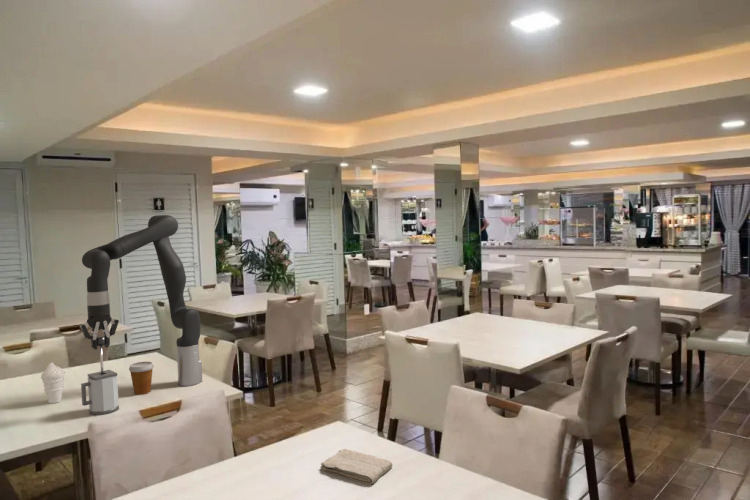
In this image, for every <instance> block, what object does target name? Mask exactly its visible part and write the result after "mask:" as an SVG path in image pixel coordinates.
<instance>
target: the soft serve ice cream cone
mask: <svg viewBox="0 0 750 500" xmlns="http://www.w3.org/2000/svg"><path fill="white" fill-rule="evenodd" d="M65 375H66V372H65V370H64V369H63V368H62V367H60V366H58V365H55V364H54V362H50V363H48V364H47V366H46V369H45V370H44V371H43V372H42V373H41V376H40V379H41V381H42V383H43V388H44V390H43V391H44V393H45V395H46V398H47V402H48V404H51V403H52V404H58V403H60V402H61V401H62V395H63V391H64V380H65ZM57 402H58V403H57Z"/></svg>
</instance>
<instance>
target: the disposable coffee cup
mask: <svg viewBox="0 0 750 500" xmlns="http://www.w3.org/2000/svg"><path fill="white" fill-rule="evenodd" d="M153 368H154V364H153V362H151V361H138V362H134V363H131V364H130V365H129V368H128V370H129V372H130V376H131V377H130V378H131V381H132V386H133V388H132V389H133V393H134V395H137V396H140V395H142V396H143V395H146V394H149V393H151V391H152V378H153Z"/></svg>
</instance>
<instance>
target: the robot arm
mask: <svg viewBox="0 0 750 500" xmlns="http://www.w3.org/2000/svg"><path fill="white" fill-rule="evenodd" d="M178 228H179V222H178V221H177V219H176V218H175V217H174V216H172V215H168V214H157V215H153V216H151V217H150V218H149V220H148V222H147V227H145V228H143V229H141V230H137V231H134V232H131V233H127V234H125V235H122V236H121V237H118V238H116V239H114V240H112V241H110V242H108V243H107V244H103V245H100V246H98V247H94V248H91V249H90V250H87V251H86V252H85V253H83V255H82V258H81V263H82V265H83V267H86V268H87V269H91V270H90V271H91V272H90V273H91V274H90V276H88V277H87V278H86V292H87V293H86V307H87V320H86V322H84V323H81V324H79V328H80V330H81V333H82V334H83V337H84V338H85V339H87V340H91V341H90V343H91V348H92V349H93V350H98V346H97V340H96V337H98V336H97V335H98V333H99V331H100V330H102V333H103V336H105V339H106V345H103V346H104V348H109V346H110V344H111V338H110V337H111V336H114V335H116V331H117V328H118V325H119V323H120V320H119V319H117V318H112V317H111V307H110V303H111V299H110V293H109V282H108V281H109V280H108V279H109V274H110V268H111V261H112V260H117V259H121V258H123V257H125V256H127V255H129V254H131V253H132V252H135V251H136V250H138V249H141V248H142V247H144V246H147V245H149V244H151V243H152V244H153V246H154V249H155V253H156V256H157V259H158V263H159V267H160V272H161V276H162V280H163V284H164V287H165V292H166V295H167V300H168V305H169V307H168V308H169V313H170V319H171V322H172V325H173V326H174V327H175V328H177V329H180V330H182V331H181V336H180V337H179V338H177V339H176V343H175V344H176V357H177V381H178V384H177V385H179V386H183V387H187V386H188V387H189V386H195V385H197V384H200V383H202V382H203V368H202V367H203V366H202V360H201V359H200V347H199V346H200V344H199V343H200V338H201V316H200V313H199V311H198V310H197V309H195V308H188V307H187V305H186V302H185V297H184V291H185V288H186V283H187V276H186V272H185V271H186V270H185V268H184V264H183V262H182V260H181V258H180V257H179V256H178V254H177V253H176V251H175V250H174V248H173V246H172V244H171V240H170V237H171V236H173V235H175V234H176V233H177V231H178ZM109 325H110V329H109ZM88 326H89V327H90V332H89V331H88V328H89V327H88Z"/></svg>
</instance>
